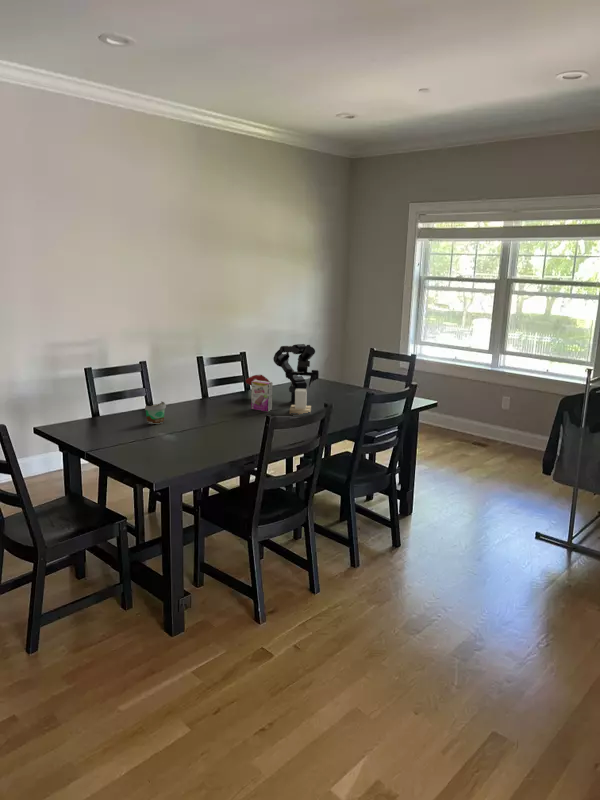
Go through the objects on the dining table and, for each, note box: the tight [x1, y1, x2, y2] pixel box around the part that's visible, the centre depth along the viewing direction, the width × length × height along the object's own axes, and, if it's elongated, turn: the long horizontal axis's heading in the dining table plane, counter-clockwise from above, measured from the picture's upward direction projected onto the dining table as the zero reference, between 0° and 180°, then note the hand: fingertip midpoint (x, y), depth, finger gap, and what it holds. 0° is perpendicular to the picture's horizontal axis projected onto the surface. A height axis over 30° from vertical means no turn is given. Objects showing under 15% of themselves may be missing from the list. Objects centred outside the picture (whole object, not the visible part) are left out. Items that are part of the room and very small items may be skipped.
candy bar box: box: [250, 380, 274, 413], centre depth 346 cm, size 11×5×16 cm, turn 65°
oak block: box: [289, 404, 312, 415], centre depth 346 cm, size 11×11×3 cm
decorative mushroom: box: [245, 374, 271, 386], centre depth 370 cm, size 16×16×15 cm
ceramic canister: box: [294, 388, 308, 409], centre depth 345 cm, size 6×6×10 cm
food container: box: [144, 401, 167, 423], centre depth 315 cm, size 12×6×10 cm, turn 148°
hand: (301, 386), depth 347 cm, fingers open, 9 cm apart
